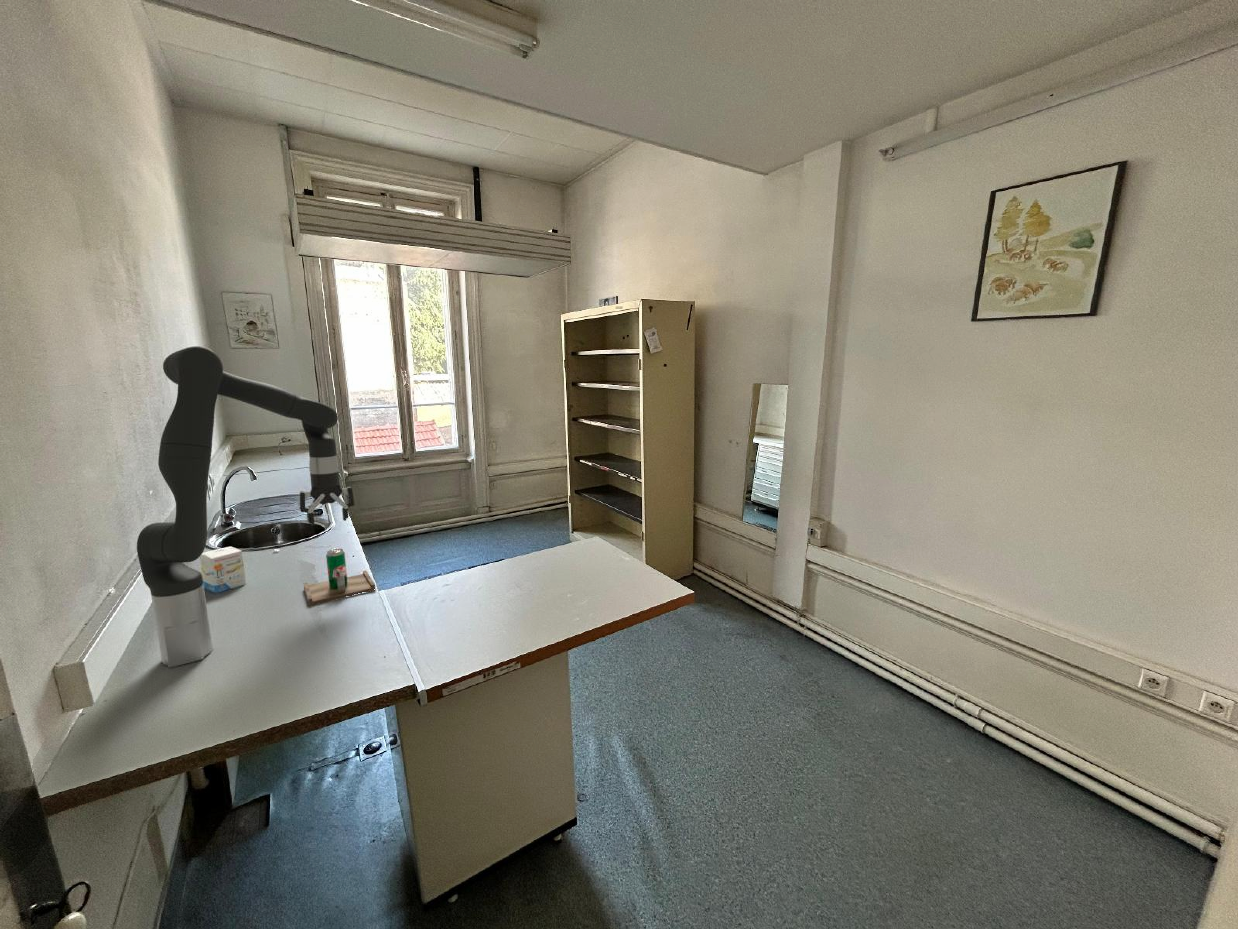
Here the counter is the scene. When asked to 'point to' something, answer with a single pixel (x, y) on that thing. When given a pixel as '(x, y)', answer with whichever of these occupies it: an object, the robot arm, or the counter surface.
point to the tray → (333, 594)
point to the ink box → (222, 569)
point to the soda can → (336, 566)
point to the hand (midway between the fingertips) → (329, 522)
